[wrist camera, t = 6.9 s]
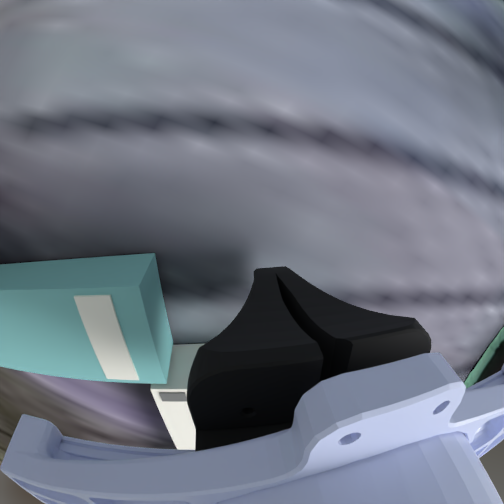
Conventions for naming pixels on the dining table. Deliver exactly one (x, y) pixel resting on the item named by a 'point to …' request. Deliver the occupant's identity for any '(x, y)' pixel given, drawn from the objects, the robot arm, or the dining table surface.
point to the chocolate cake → (488, 361)
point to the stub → (86, 319)
